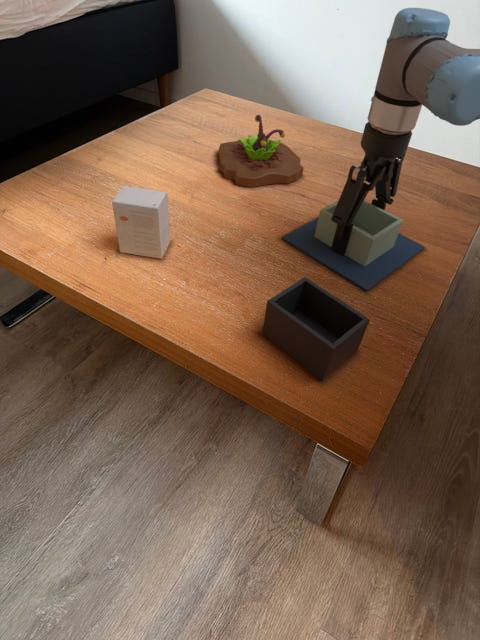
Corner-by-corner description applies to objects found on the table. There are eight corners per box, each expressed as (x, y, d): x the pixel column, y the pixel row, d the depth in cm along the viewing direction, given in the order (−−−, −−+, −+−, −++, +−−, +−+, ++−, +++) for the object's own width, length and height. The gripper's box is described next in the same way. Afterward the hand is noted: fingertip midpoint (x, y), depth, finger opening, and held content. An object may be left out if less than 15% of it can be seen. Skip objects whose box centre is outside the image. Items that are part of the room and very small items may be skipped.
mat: (423, 248, 89) (424, 246, 89) (366, 292, 78) (367, 289, 78) (342, 205, 98) (343, 203, 98) (281, 239, 88) (282, 236, 87)
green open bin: (393, 246, 88) (403, 220, 84) (364, 266, 82) (373, 239, 78) (344, 219, 93) (351, 193, 89) (314, 236, 88) (320, 210, 84)
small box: (170, 242, 84) (168, 191, 77) (162, 260, 80) (158, 208, 73) (129, 235, 85) (123, 184, 77) (118, 252, 81) (111, 200, 73)
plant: (282, 145, 117) (288, 100, 109) (311, 182, 104) (321, 134, 97) (207, 150, 112) (208, 103, 104) (228, 189, 99) (231, 139, 91)
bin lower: (357, 351, 68) (370, 319, 63) (322, 381, 64) (333, 349, 59) (297, 309, 74) (305, 276, 69) (261, 334, 69) (267, 300, 64)
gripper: (405, 103, 80) (370, 213, 95) (327, 134, 68) (302, 253, 84) (444, 117, 76) (401, 229, 92) (369, 153, 64) (334, 273, 80)
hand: (354, 240), depth 88 cm, fingers closed on green open bin, 10 cm apart
